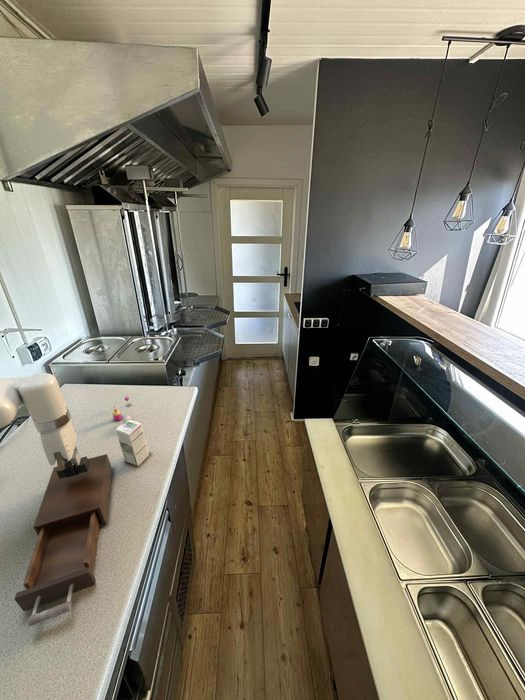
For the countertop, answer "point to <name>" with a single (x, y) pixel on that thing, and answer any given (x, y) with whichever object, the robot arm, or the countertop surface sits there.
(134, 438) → the syrup box
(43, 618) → the drawer
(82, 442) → the countertop surface
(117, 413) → the candy
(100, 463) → the cabinet
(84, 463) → the two-tone rectangular prism
